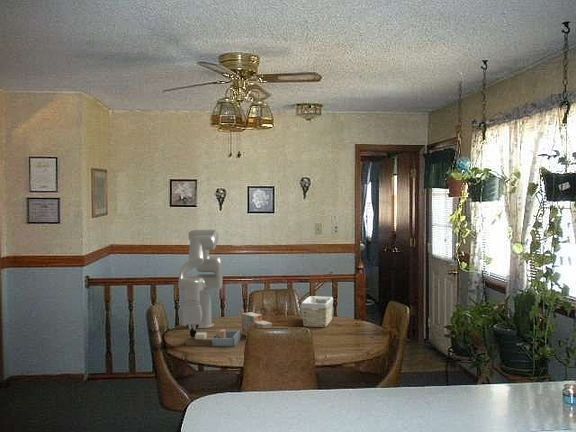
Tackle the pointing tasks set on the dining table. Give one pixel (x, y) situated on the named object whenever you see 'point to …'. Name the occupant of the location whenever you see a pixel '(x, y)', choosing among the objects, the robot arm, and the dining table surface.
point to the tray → (228, 339)
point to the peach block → (222, 334)
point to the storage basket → (317, 311)
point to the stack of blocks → (253, 322)
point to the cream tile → (200, 335)
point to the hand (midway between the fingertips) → (193, 336)
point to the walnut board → (201, 340)
